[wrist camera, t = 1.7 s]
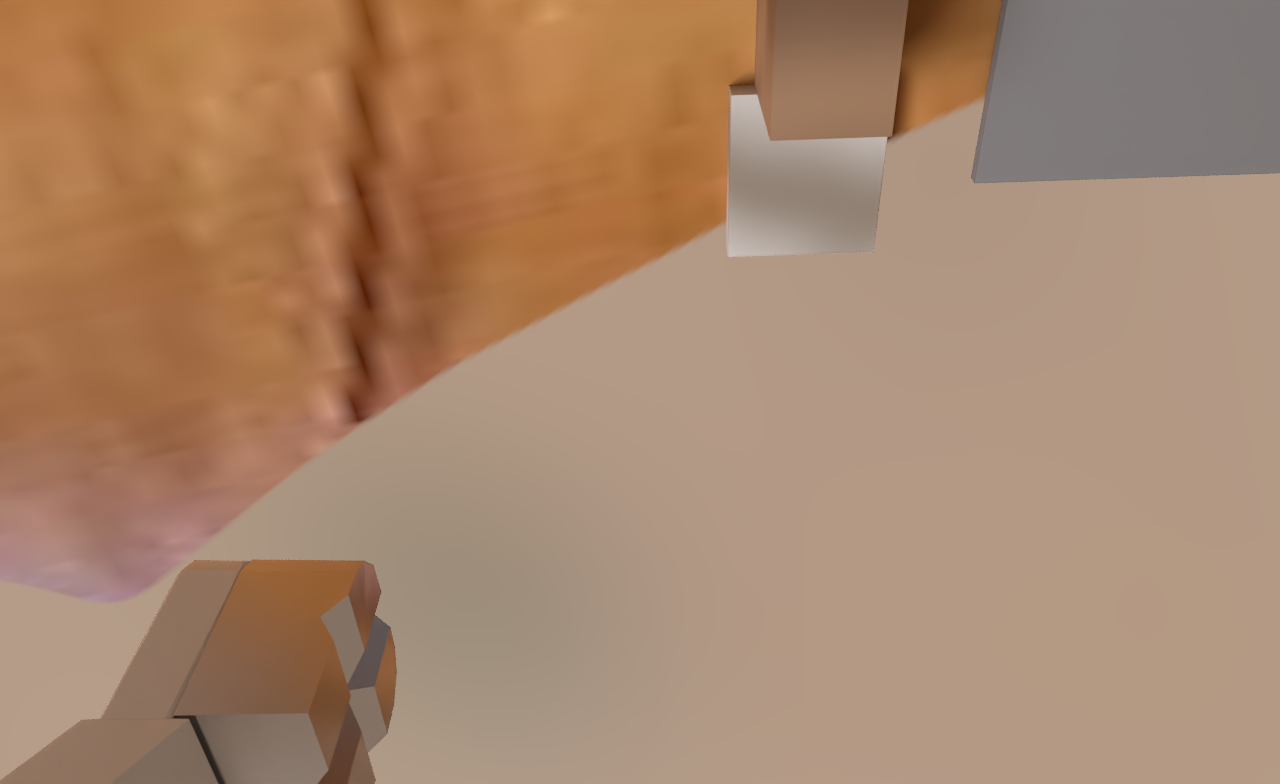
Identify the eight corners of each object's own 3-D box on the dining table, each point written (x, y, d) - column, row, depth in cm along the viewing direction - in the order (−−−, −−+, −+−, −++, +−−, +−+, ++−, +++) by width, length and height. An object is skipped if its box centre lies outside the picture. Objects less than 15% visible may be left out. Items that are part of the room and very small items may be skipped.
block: (735, -256, 23) (752, -241, 20) (926, -264, 23) (975, -250, 20) (726, 244, 31) (736, 313, 28) (868, 239, 31) (896, 308, 27)
